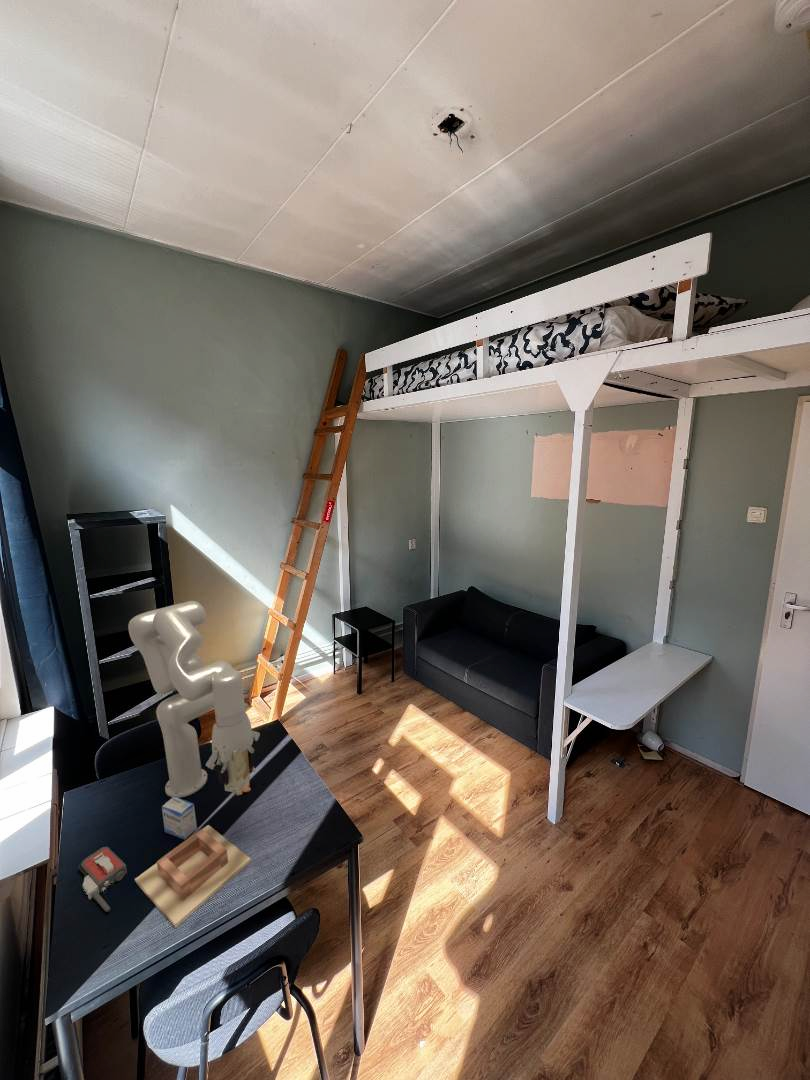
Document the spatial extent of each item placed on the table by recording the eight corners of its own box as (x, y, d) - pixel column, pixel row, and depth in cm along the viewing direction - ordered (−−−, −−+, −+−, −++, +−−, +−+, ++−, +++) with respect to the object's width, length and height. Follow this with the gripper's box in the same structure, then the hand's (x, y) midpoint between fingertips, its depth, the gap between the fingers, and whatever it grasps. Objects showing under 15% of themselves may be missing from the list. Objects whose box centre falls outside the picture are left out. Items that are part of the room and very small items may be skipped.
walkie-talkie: (69, 876, 113) (104, 919, 102) (67, 862, 112) (101, 903, 101) (107, 851, 120) (143, 888, 109) (104, 837, 119) (140, 873, 108)
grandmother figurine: (235, 799, 137) (231, 763, 135) (231, 793, 140) (226, 757, 137) (258, 787, 142) (255, 752, 140) (254, 781, 145) (250, 747, 142)
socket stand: (135, 882, 110) (132, 865, 109) (208, 827, 126) (206, 812, 125) (175, 928, 99) (173, 909, 98) (250, 861, 115) (249, 845, 114)
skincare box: (238, 793, 117) (234, 753, 115) (224, 791, 118) (219, 751, 116) (251, 776, 124) (247, 738, 122) (237, 775, 124) (233, 736, 122)
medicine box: (164, 832, 125) (160, 806, 124) (177, 821, 129) (174, 795, 128) (184, 840, 122) (181, 813, 121) (197, 828, 126) (194, 802, 125)
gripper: (249, 697, 126) (254, 751, 129) (192, 727, 112) (199, 788, 115) (265, 704, 122) (271, 760, 125) (209, 737, 108) (216, 799, 111)
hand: (236, 773), depth 120 cm, fingers closed on skincare box, 7 cm apart
